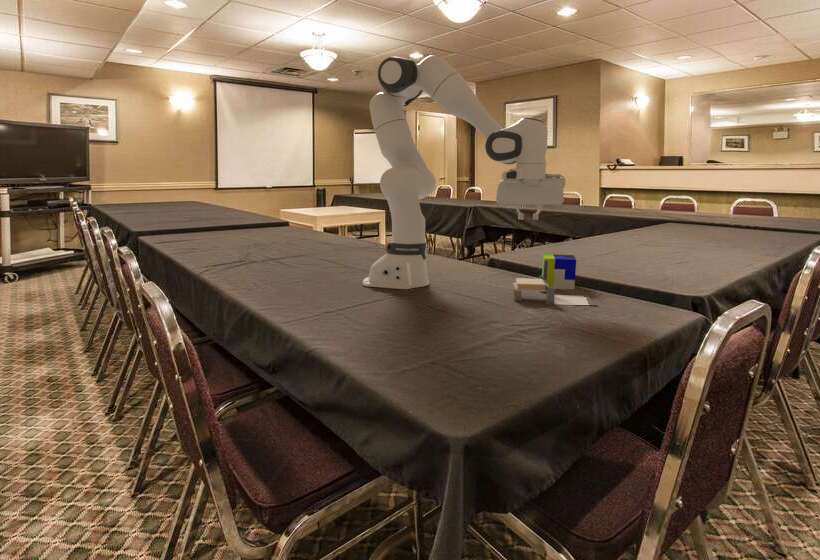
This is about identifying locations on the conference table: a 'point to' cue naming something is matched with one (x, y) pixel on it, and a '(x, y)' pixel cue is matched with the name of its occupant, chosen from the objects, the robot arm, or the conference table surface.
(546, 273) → the flipper
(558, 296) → the mat
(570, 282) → the puzzle toy
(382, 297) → the conference table surface
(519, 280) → the tile
